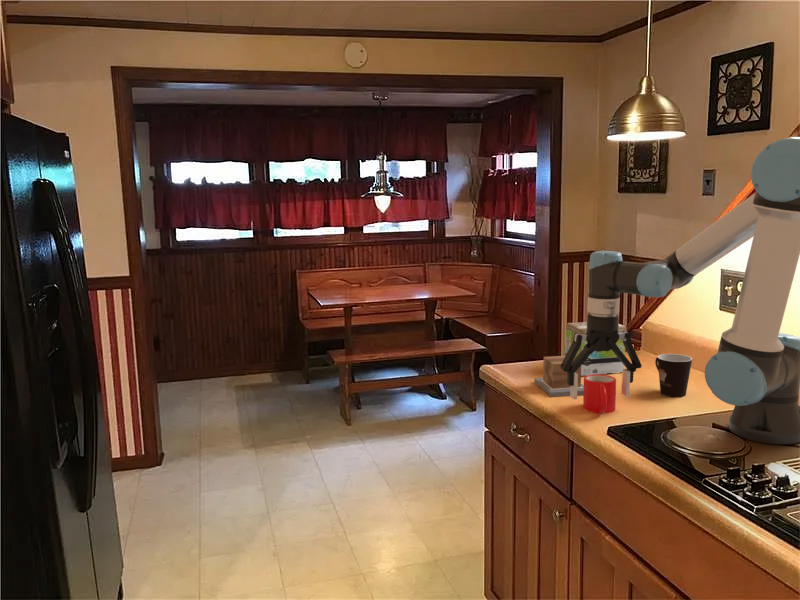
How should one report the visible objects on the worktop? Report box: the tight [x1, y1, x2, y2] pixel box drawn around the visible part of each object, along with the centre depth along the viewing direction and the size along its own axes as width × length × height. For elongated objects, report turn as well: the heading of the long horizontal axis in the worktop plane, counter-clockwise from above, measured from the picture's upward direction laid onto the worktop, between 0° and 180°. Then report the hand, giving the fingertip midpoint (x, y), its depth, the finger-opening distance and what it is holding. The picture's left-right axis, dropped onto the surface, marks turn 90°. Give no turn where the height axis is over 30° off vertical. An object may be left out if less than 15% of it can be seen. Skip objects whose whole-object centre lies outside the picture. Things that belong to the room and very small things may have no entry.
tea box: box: [564, 321, 627, 377], centre depth 202 cm, size 15×10×15 cm
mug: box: [582, 374, 617, 414], centre depth 167 cm, size 8×12×8 cm, turn 174°
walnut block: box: [542, 355, 582, 389], centre depth 186 cm, size 8×8×7 cm
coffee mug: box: [654, 353, 693, 398], centre depth 180 cm, size 12×9×10 cm
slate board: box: [534, 377, 584, 398], centre depth 186 cm, size 14×11×1 cm
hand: (599, 396), depth 167 cm, fingers open, 13 cm apart
